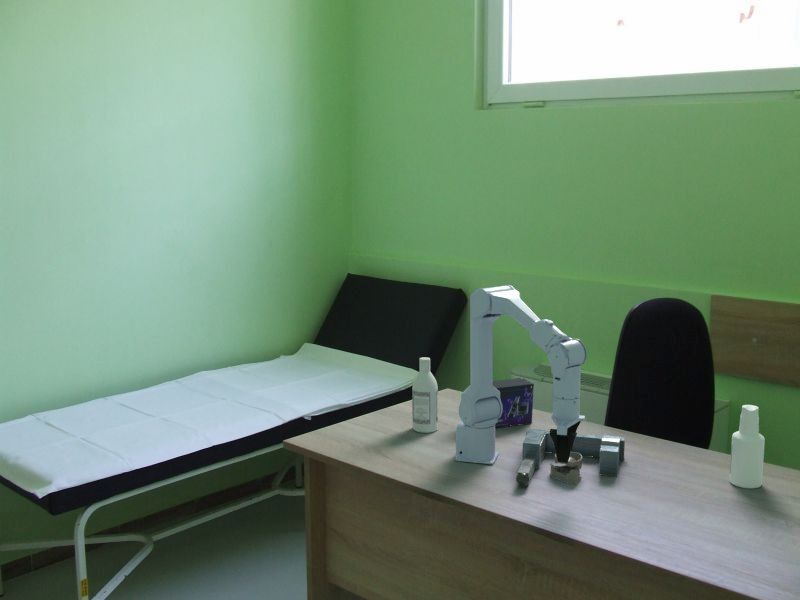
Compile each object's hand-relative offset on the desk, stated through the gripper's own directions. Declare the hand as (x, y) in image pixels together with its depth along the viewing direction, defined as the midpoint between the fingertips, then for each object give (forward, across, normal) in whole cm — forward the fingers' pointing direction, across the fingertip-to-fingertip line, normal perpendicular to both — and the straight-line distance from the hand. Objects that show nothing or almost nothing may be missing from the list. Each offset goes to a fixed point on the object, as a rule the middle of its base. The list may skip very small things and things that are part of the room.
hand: (564, 456), depth 179 cm
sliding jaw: (+9, +13, +9) cm, 19 cm away
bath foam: (+10, +35, +42) cm, 55 cm away
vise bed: (+9, +22, 0) cm, 23 cm away
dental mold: (+10, +12, 0) cm, 15 cm away
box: (+10, +45, +22) cm, 51 cm away
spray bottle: (+10, +19, -38) cm, 44 cm away
